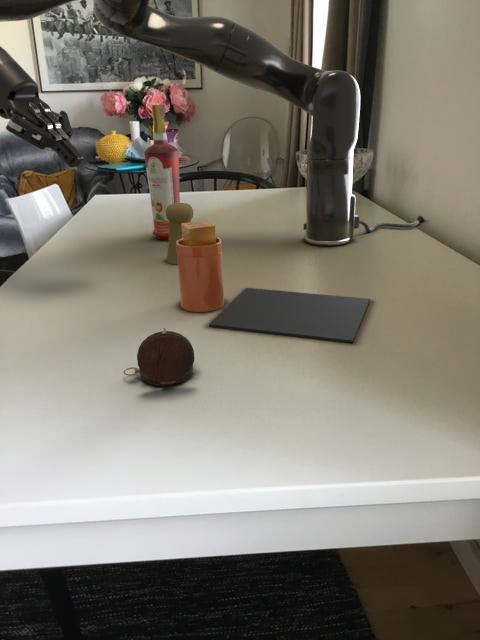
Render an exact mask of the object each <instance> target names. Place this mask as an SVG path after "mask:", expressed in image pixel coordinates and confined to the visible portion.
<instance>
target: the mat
mask: <svg viewBox="0 0 480 640" xmlns="http://www.w3.org/2000/svg"><path fill="white" fill-rule="evenodd" d="M370 302H371V299H370V298H364V297H354V296H343V295H342V296H341V295H331V294H320V293H309V292H298V291H286V290H276V289H275V290H274V289H263V288H252V287H245V289H243V290H242V291H241V293H239V294H238V295H237V296H236V297H235V298H234V300H232V301H231V302H230V303H229V304H228V305H227V306H226V307H225V308H224V309H223V310H222V311H220V313H219V314H218V315H217V316H216V317H215V318H214V319H213V320H211V322H210V323H208V326H209V327H210V328H218V329H224V330H225V329H227V330H236V331H242V332H243V331H244V332H253V333H260V334H261V333H262V334H268V335H277V336H278V335H280V336H287V337H295V338H305V339H312V340H313V339H314V340H320V341H321V340H322V341H329V342H330V341H331V342H340V343H347V344H353V343H354V341H355V339H356V336H357V334H358V331H359V329H360V326H361V325H362V321H363V320H364V317H365V314H366V312H367V309H368V307H369V304H370Z"/></svg>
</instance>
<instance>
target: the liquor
mask: <svg viewBox="0 0 480 640" xmlns="http://www.w3.org/2000/svg"><path fill="white" fill-rule="evenodd" d="M150 106H151V115H152V120H153V144H151V145H150V146H148V147H146V149H145V150H144V151H143V154H144V162H145V170H146V178H147V184H148V190H149V191H148V192H149V198H150V204H151V212H152V222H153V231H152V235H154V236H155V237H156V238H157V239H159V240H161V241H169V220H168V219H167V217H166V209H167V207H168V206H169V205H171V204H174V203H181V200H180V199H181V198H180V196H181V195H180V193H181V192H180V153H179V152H180V150H179V149H178V148H177V147H176V146H175V145H173V144H170V143H169V140H168V136H167V135H168V134H167V128H166V122H165V115H166V110H165V109H166V108H165V104H151V105H150Z"/></svg>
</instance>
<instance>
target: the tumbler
mask: <svg viewBox="0 0 480 640" xmlns="http://www.w3.org/2000/svg"><path fill="white" fill-rule="evenodd" d="M176 252H177V260H178V265H177V269H178V270H177V272H178V285H179V286H178V287H179V299H180V307H181V308H182V309H183V310H185V311H188V312H193V313H206V312H213V311H217V310H219V309H221V308H222V307H224V306H225V292H224V291H225V289H224V266H223V265H224V264H223V240H222V239H221V238H220V237H218V236H216V244H213V245H208V246H197V247H192V246H184V245H183V242H182V239H179V240H177V242H176Z"/></svg>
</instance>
